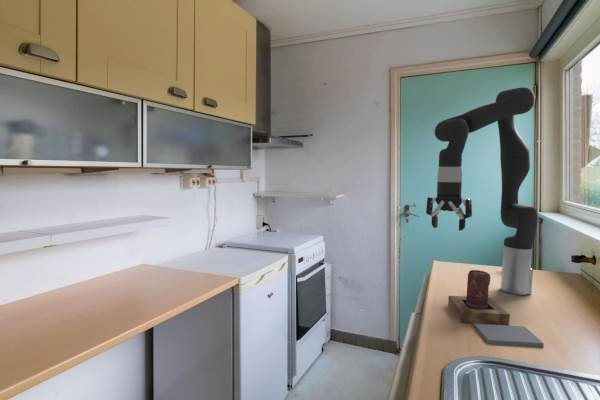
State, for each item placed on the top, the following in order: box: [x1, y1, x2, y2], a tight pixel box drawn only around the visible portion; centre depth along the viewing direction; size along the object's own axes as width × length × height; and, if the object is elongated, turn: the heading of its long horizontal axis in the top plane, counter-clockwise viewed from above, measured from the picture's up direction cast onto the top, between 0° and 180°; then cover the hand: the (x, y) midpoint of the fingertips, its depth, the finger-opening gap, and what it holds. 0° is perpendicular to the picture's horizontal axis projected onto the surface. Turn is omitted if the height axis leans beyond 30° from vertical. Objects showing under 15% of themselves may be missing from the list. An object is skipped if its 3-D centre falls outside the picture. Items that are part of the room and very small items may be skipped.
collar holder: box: [447, 295, 511, 326], centre depth 115 cm, size 14×14×4 cm
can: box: [466, 269, 491, 309], centre depth 114 cm, size 6×6×14 cm
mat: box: [473, 324, 545, 348], centre depth 101 cm, size 14×10×1 cm
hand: (447, 228), depth 121 cm, fingers open, 8 cm apart
